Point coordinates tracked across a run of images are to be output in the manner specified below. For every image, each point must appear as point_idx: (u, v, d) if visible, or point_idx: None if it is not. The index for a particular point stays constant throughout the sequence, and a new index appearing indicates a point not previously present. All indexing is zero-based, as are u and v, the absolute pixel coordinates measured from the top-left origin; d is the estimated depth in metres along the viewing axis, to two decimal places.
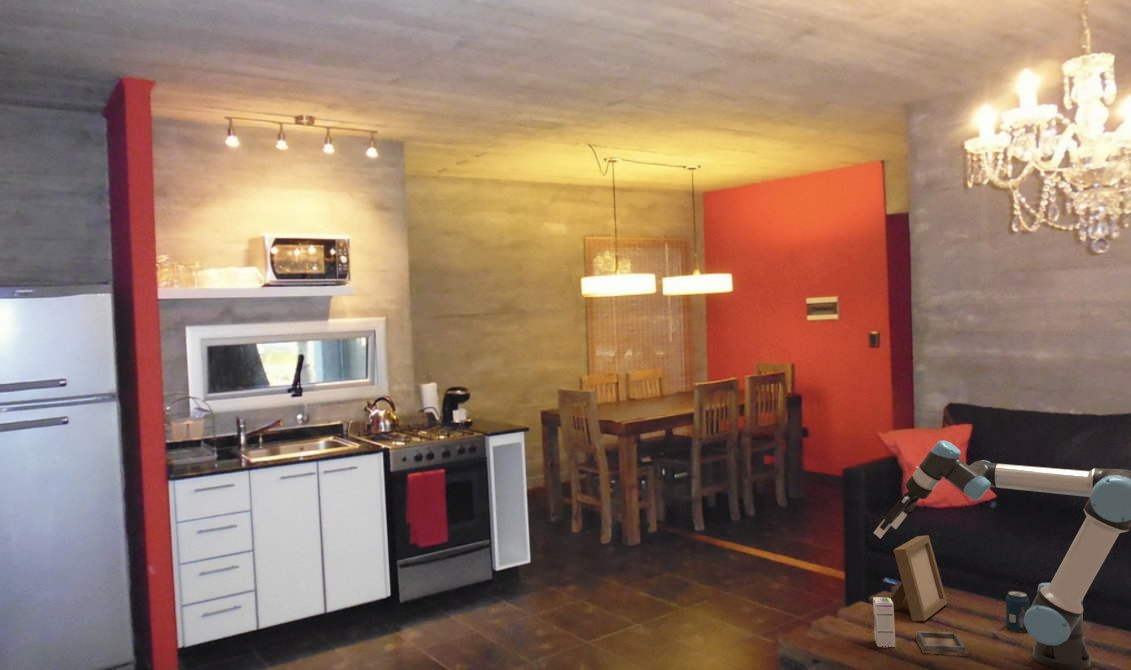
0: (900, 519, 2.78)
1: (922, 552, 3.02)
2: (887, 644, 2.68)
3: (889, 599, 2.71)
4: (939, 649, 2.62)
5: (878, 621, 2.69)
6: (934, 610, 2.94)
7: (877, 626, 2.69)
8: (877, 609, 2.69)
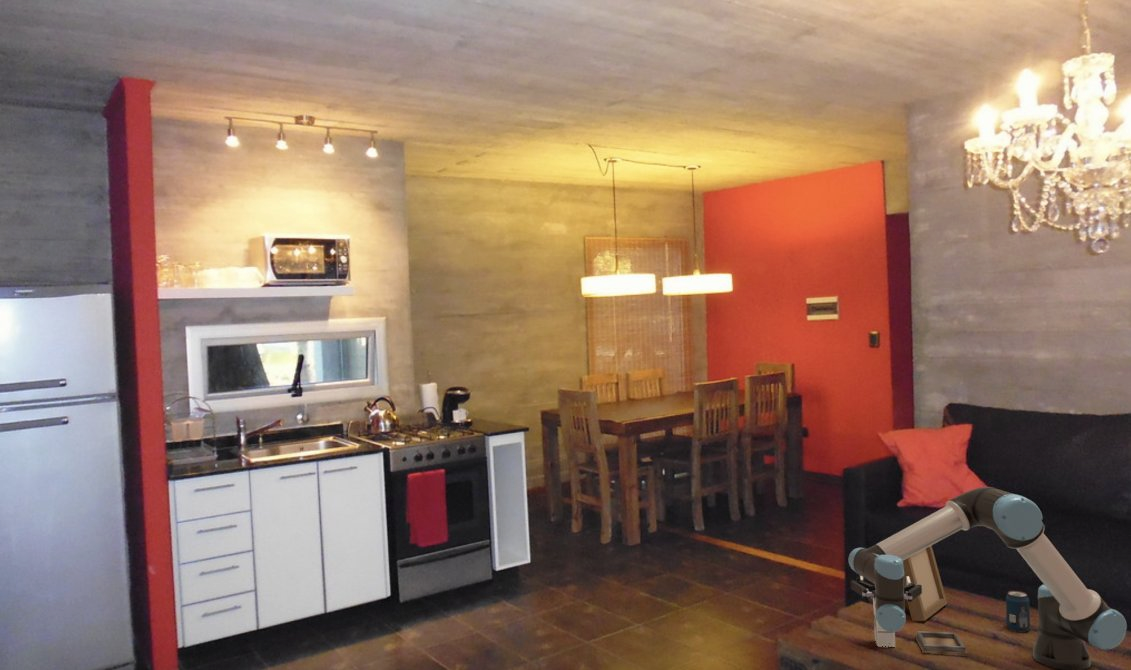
0: None
1: (922, 552, 3.02)
2: (887, 644, 2.68)
3: None
4: (939, 649, 2.62)
5: None
6: (934, 610, 2.94)
7: (877, 626, 2.69)
8: None
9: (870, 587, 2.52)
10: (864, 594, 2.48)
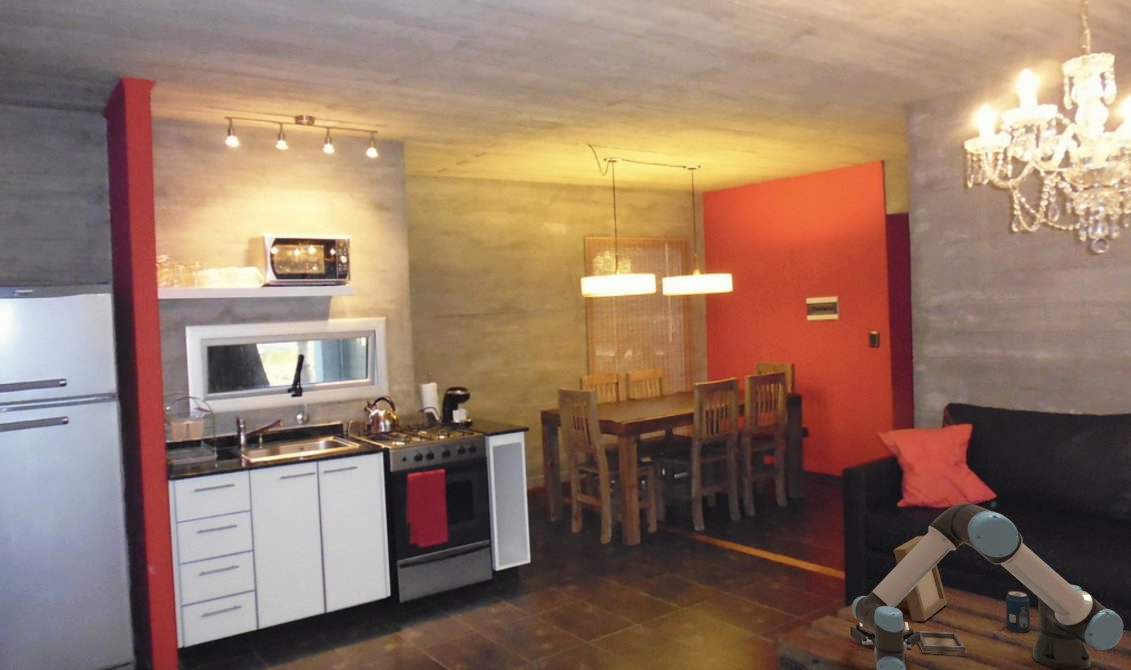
0: None
1: None
2: None
3: None
4: (939, 649, 2.62)
5: None
6: (934, 610, 2.94)
7: None
8: None
9: (869, 635, 2.56)
10: (864, 642, 2.52)
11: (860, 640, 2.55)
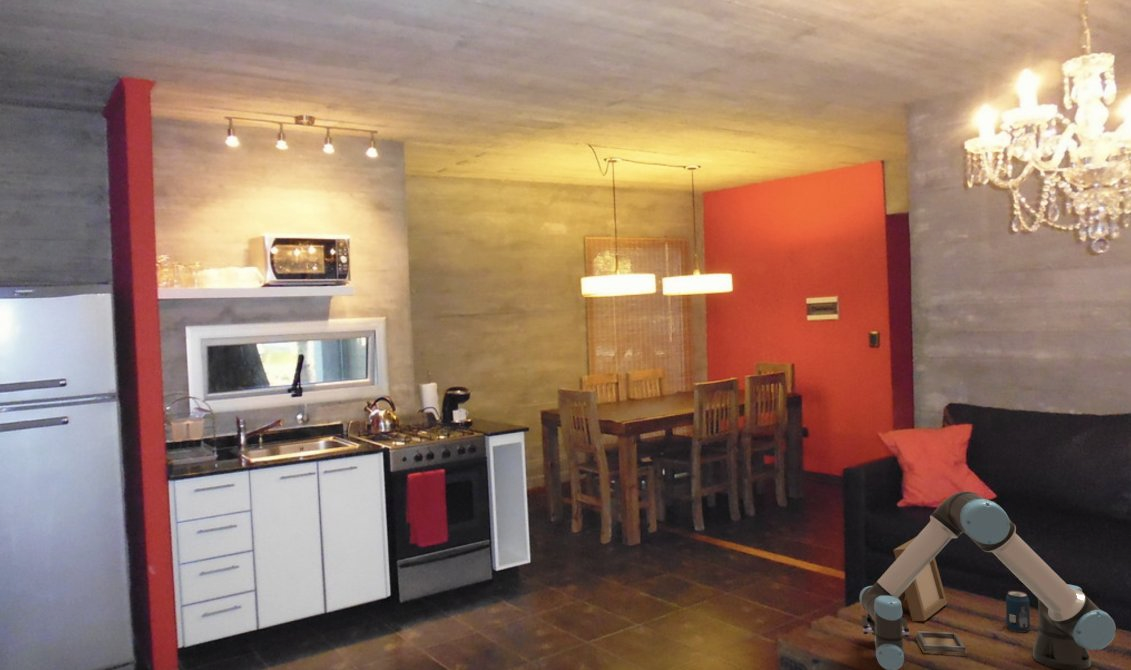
0: None
1: None
2: None
3: None
4: (939, 649, 2.62)
5: None
6: (934, 610, 2.94)
7: None
8: None
9: (874, 623, 2.65)
10: (864, 629, 2.62)
11: None
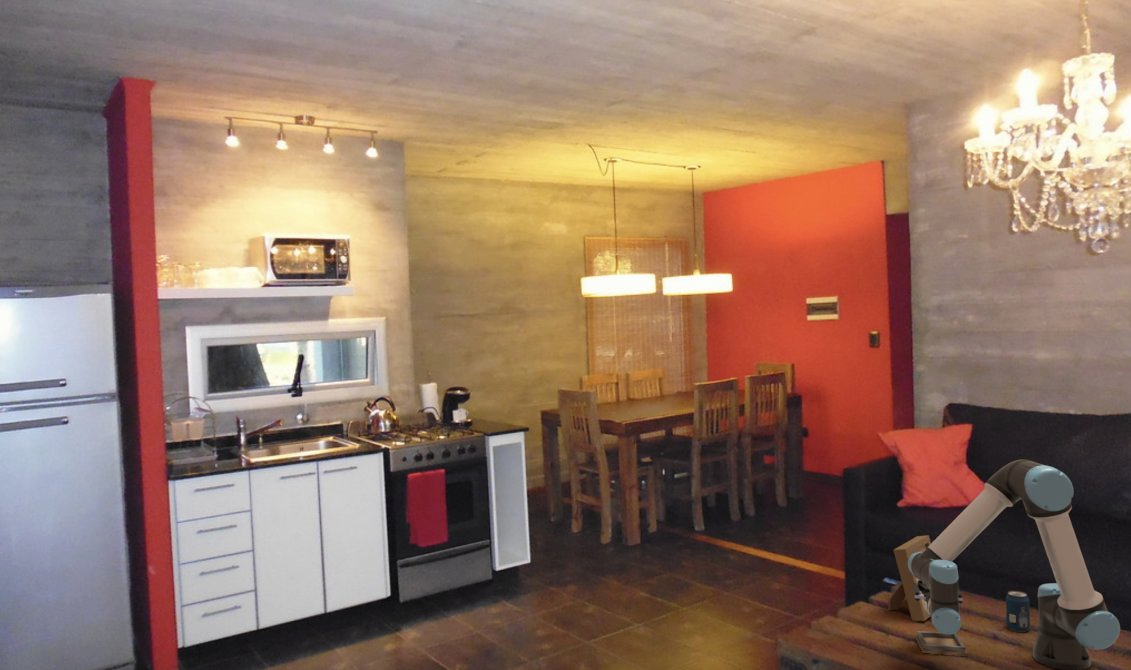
0: None
1: None
2: None
3: None
4: (939, 649, 2.62)
5: None
6: None
7: None
8: None
9: (926, 590, 2.61)
10: (915, 596, 2.58)
11: None
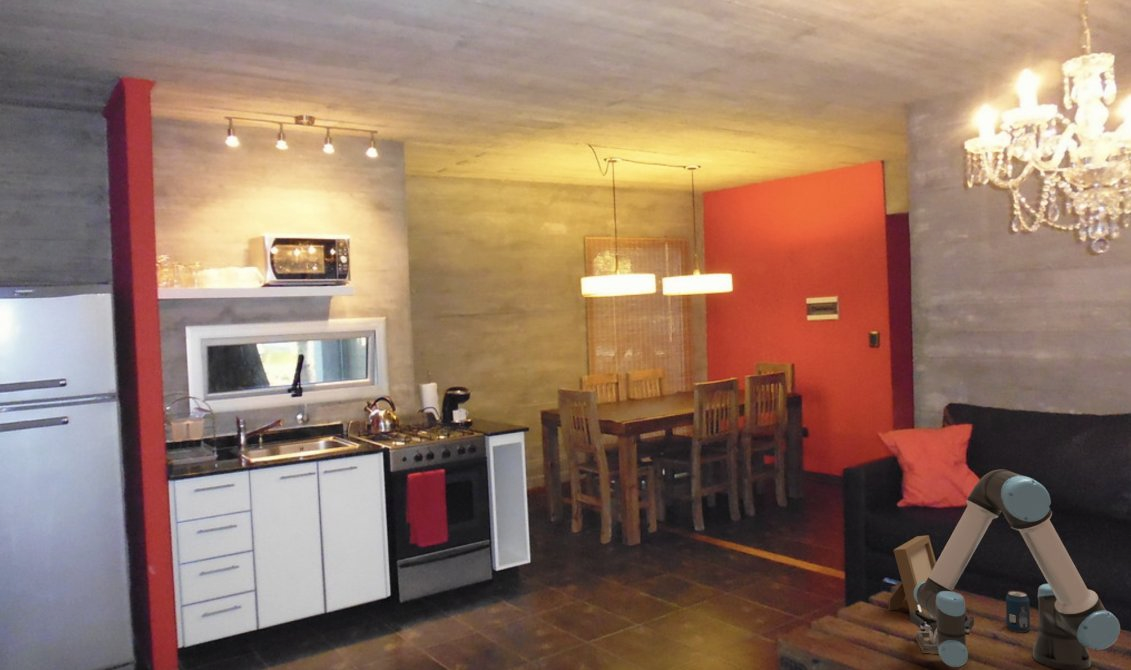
0: None
1: (922, 552, 3.02)
2: None
3: None
4: None
5: None
6: None
7: None
8: None
9: (928, 620, 2.61)
10: (922, 627, 2.57)
11: (918, 625, 2.60)
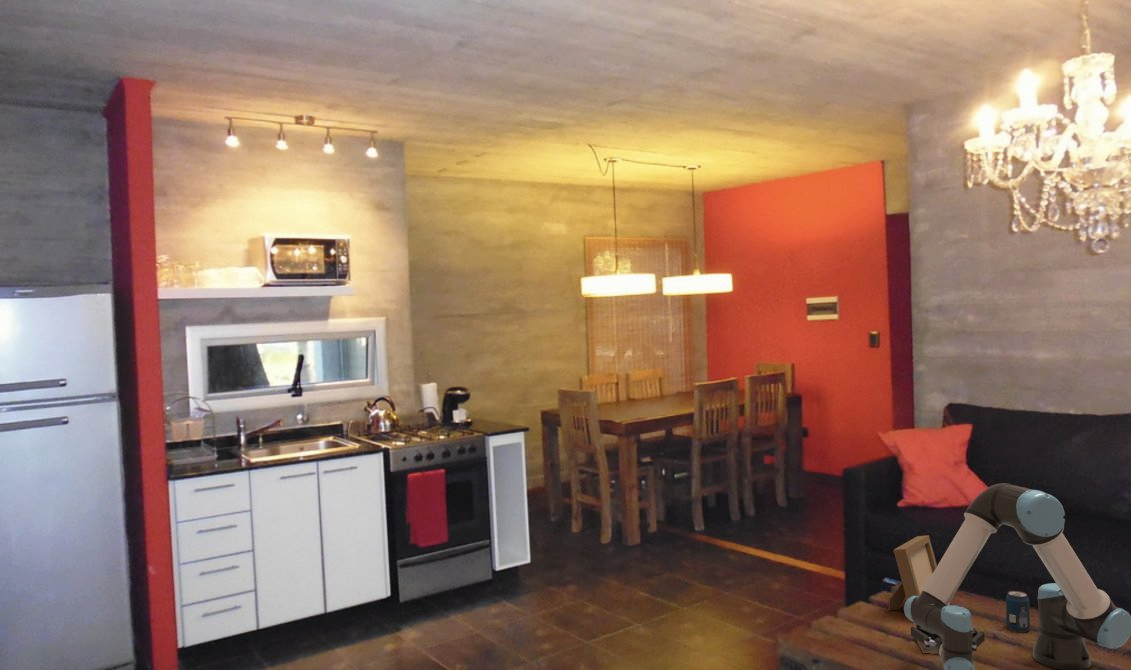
0: None
1: (922, 552, 3.02)
2: None
3: None
4: None
5: None
6: None
7: None
8: None
9: (932, 635, 2.48)
10: (927, 643, 2.44)
11: (922, 640, 2.47)
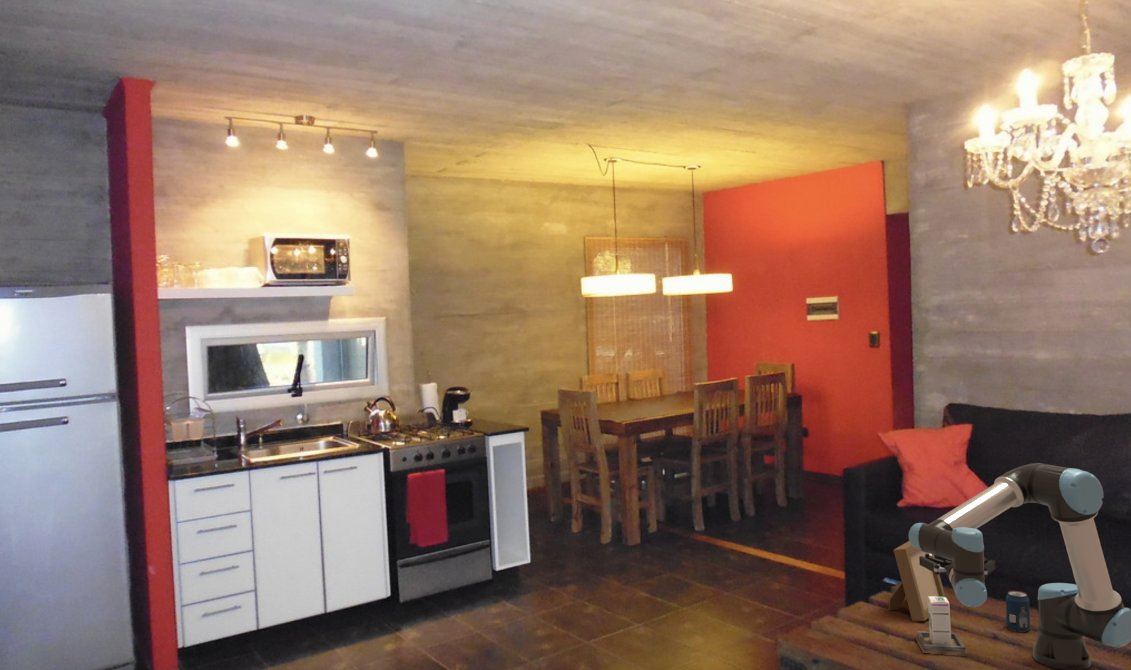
0: None
1: (922, 552, 3.02)
2: (943, 644, 2.65)
3: (944, 598, 2.67)
4: (939, 649, 2.62)
5: (934, 620, 2.65)
6: None
7: (932, 625, 2.65)
8: (933, 608, 2.65)
9: (941, 563, 2.42)
10: (936, 570, 2.38)
11: (931, 568, 2.41)
